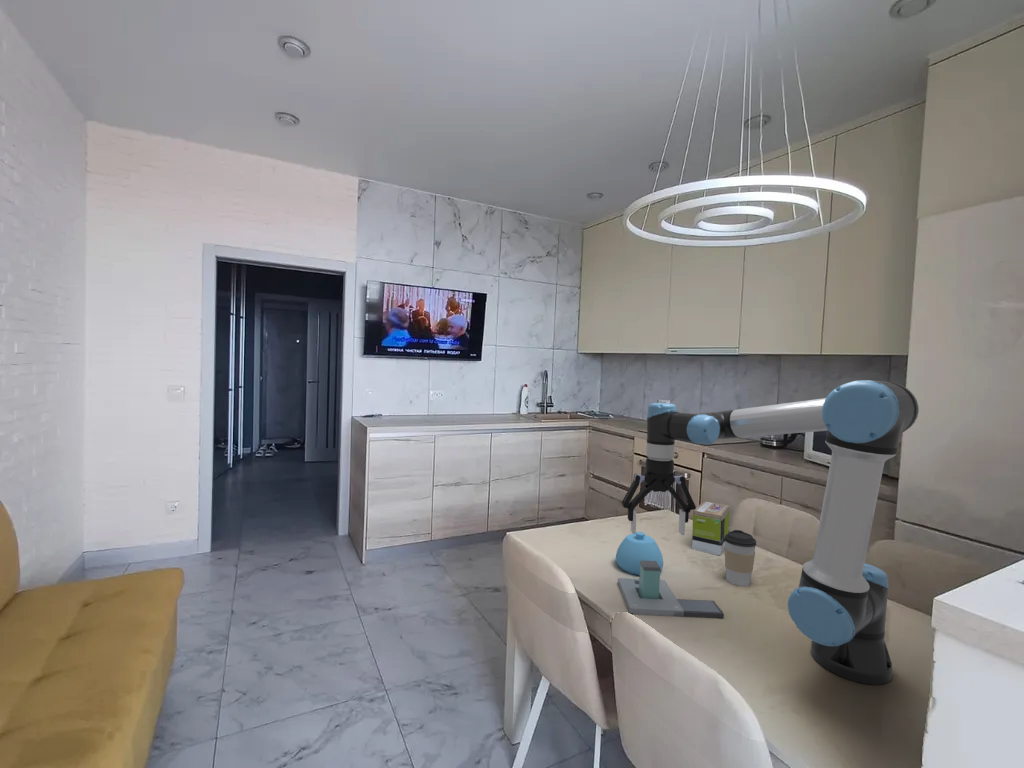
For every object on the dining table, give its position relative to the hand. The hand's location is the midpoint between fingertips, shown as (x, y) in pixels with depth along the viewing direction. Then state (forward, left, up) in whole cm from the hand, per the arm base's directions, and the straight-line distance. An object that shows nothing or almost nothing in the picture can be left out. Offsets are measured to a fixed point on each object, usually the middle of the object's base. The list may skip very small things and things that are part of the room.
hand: (657, 533), depth 136 cm
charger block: (0, +2, -19) cm, 19 cm away
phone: (-5, -9, -19) cm, 22 cm away
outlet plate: (0, +2, -19) cm, 19 cm away
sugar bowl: (+21, 0, -19) cm, 29 cm away
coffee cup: (+14, -29, -19) cm, 38 cm away
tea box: (+42, -31, -19) cm, 56 cm away
